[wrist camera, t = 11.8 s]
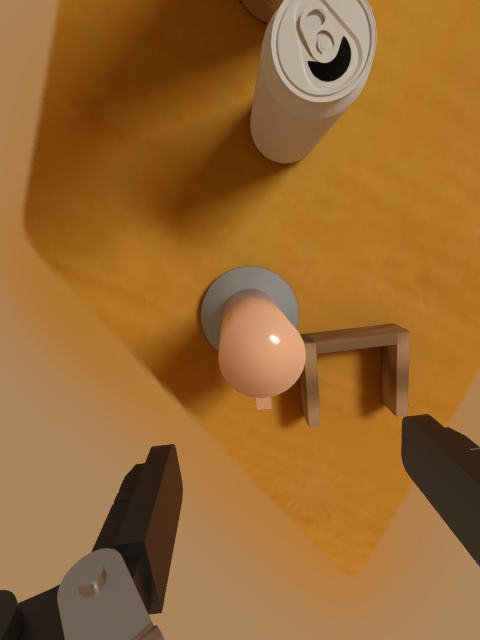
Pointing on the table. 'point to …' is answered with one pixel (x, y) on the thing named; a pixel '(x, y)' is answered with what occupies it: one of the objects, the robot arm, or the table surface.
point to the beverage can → (309, 73)
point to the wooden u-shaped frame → (359, 338)
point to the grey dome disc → (240, 281)
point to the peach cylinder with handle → (259, 347)
